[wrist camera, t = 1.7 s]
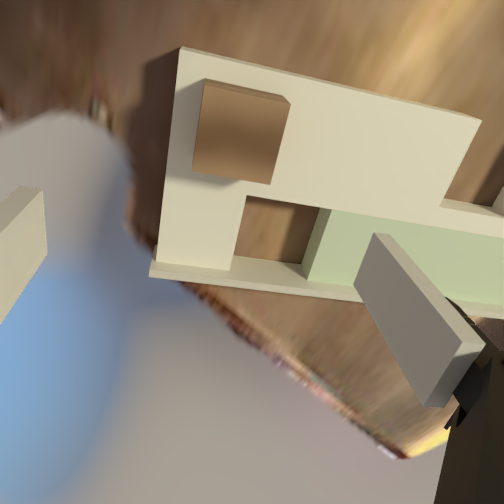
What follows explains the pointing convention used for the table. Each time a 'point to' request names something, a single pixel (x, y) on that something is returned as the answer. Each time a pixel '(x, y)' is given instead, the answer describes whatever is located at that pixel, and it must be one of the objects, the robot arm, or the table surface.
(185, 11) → the table surface
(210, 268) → the tray
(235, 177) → the block
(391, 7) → the table surface
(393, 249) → the robot arm
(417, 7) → the table surface
